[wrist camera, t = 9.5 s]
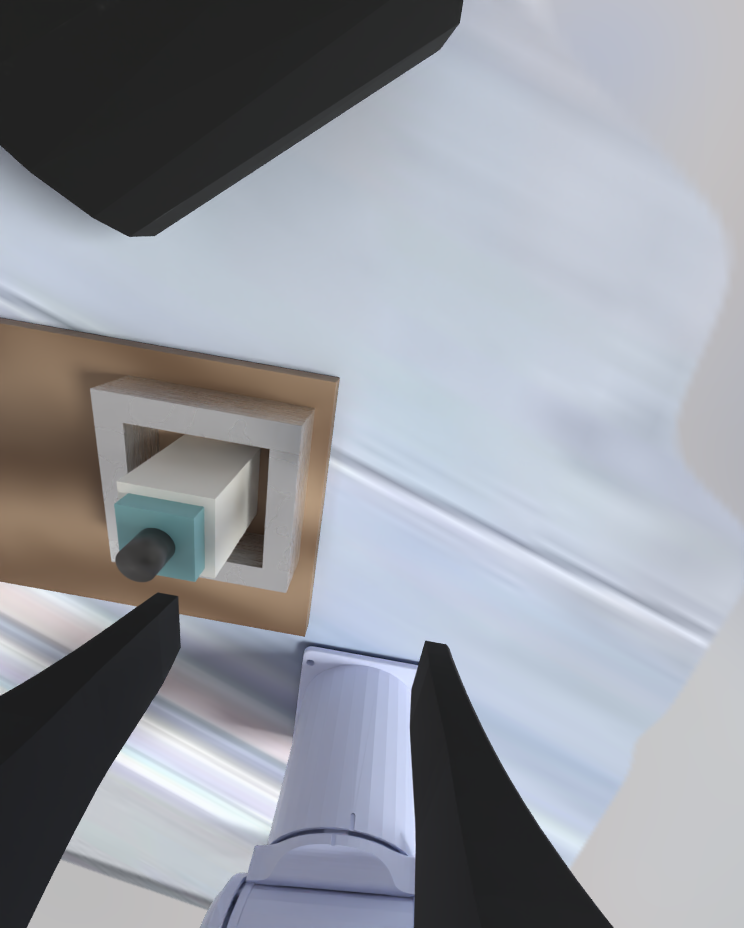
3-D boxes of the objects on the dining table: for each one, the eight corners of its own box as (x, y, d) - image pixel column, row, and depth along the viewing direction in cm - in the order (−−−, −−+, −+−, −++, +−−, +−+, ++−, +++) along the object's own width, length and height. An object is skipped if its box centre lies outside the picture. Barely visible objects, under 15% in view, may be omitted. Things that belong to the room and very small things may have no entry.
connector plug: (257, 513, 21) (190, 615, 14) (186, 500, 21) (89, 597, 15) (260, 447, 19) (188, 530, 13) (184, 434, 19) (75, 509, 13)
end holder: (298, 560, 22) (286, 593, 20) (142, 532, 22) (111, 561, 20) (314, 408, 18) (301, 426, 16) (129, 375, 18) (89, 388, 16)
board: (308, 623, 25) (304, 636, 24) (-18, 564, 25) (-34, 575, 24) (339, 377, 19) (336, 382, 18) (-93, 301, 19) (-118, 302, 18)
